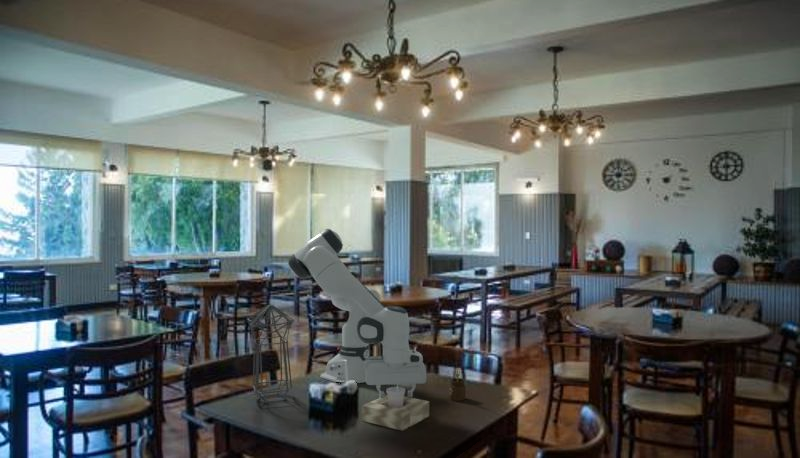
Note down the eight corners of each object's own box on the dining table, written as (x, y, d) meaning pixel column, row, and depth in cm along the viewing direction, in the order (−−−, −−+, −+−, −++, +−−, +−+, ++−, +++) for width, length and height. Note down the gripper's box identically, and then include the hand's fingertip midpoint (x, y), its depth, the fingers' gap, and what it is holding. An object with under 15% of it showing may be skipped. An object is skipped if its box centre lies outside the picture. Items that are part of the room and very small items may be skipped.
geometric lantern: (297, 402, 202) (295, 306, 201) (252, 409, 197) (250, 309, 196) (289, 390, 217) (287, 300, 216) (247, 395, 211) (245, 303, 210)
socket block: (362, 420, 183) (362, 405, 183) (390, 407, 197) (390, 393, 197) (402, 430, 174) (402, 414, 174) (429, 416, 188) (429, 401, 188)
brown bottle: (465, 396, 209) (465, 364, 209) (465, 401, 203) (465, 368, 203) (449, 396, 210) (449, 364, 210) (449, 401, 204) (449, 368, 204)
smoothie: (402, 422, 182) (402, 379, 182) (383, 420, 183) (383, 378, 183) (407, 416, 188) (407, 374, 188) (389, 414, 190) (389, 373, 189)
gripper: (365, 358, 181) (364, 401, 181) (427, 357, 183) (427, 399, 184) (364, 354, 188) (364, 395, 188) (424, 352, 190) (424, 393, 190)
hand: (395, 397), depth 186 cm, fingers open, 8 cm apart
